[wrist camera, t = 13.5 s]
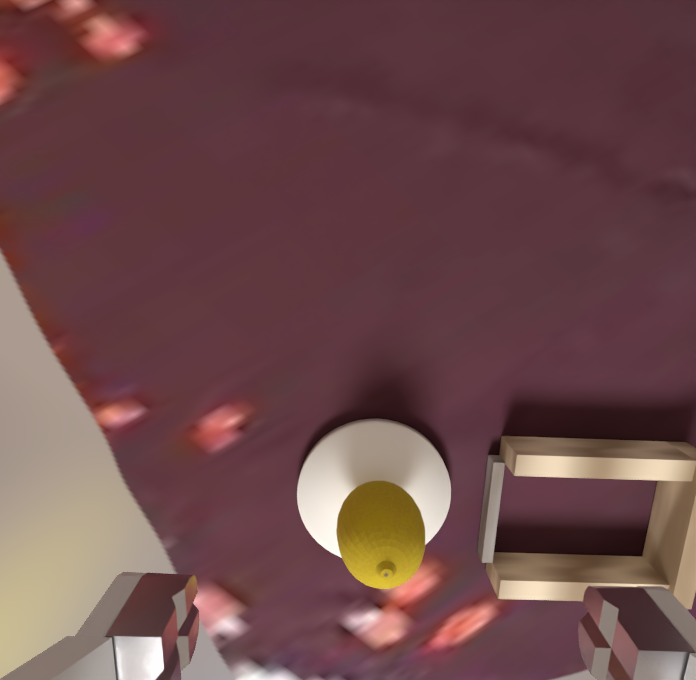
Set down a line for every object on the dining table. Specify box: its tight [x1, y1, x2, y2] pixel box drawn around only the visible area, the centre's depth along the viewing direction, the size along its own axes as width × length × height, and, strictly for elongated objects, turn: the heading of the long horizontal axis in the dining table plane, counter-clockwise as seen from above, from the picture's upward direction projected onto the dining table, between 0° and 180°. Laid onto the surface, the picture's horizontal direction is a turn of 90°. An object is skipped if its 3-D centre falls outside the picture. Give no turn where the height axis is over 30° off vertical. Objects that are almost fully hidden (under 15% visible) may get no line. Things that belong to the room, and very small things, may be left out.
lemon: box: [336, 481, 425, 589], centre depth 29 cm, size 6×6×8 cm
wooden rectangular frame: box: [477, 436, 696, 609], centre depth 33 cm, size 14×11×4 cm
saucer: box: [297, 418, 451, 558], centre depth 33 cm, size 11×11×1 cm
